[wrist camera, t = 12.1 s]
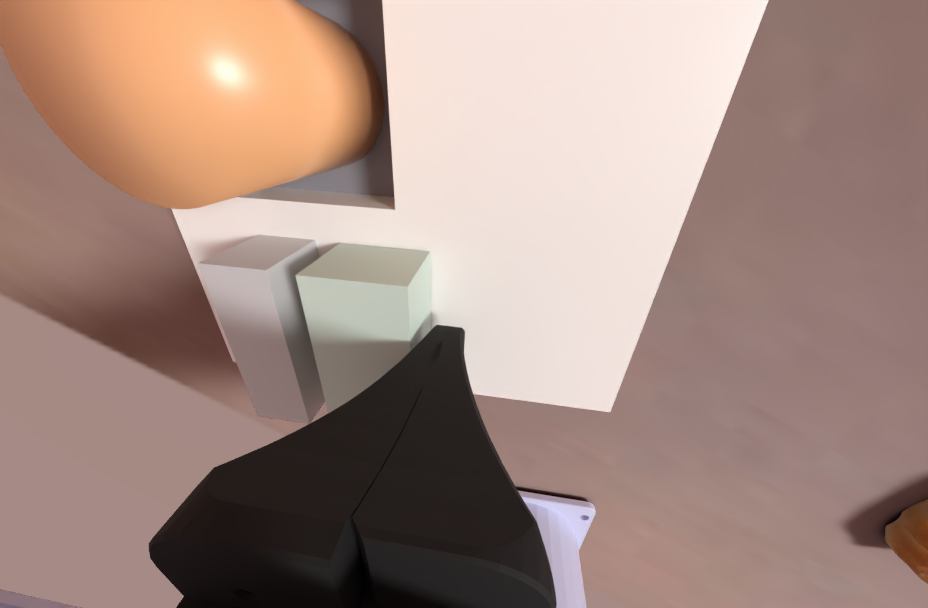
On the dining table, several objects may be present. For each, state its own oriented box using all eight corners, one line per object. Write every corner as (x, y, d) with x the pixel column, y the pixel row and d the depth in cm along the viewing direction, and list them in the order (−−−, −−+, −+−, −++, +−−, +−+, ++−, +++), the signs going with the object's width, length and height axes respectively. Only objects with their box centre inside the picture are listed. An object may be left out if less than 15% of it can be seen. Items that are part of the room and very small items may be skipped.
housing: (598, 377, 14) (629, 472, 11) (263, 335, 16) (182, 405, 12) (776, -153, 7) (1103, -493, 3) (110, -135, 8) (-229, -346, 5)
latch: (431, 390, 13) (415, 442, 11) (361, 380, 14) (331, 430, 11) (430, 251, 10) (407, 286, 8) (340, 243, 11) (295, 275, 8)
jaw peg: (387, 171, 11) (274, 219, 6) (276, 161, 11) (79, 199, 6) (379, 18, 9) (197, -114, 4) (244, 11, 9) (-85, -117, 4)
